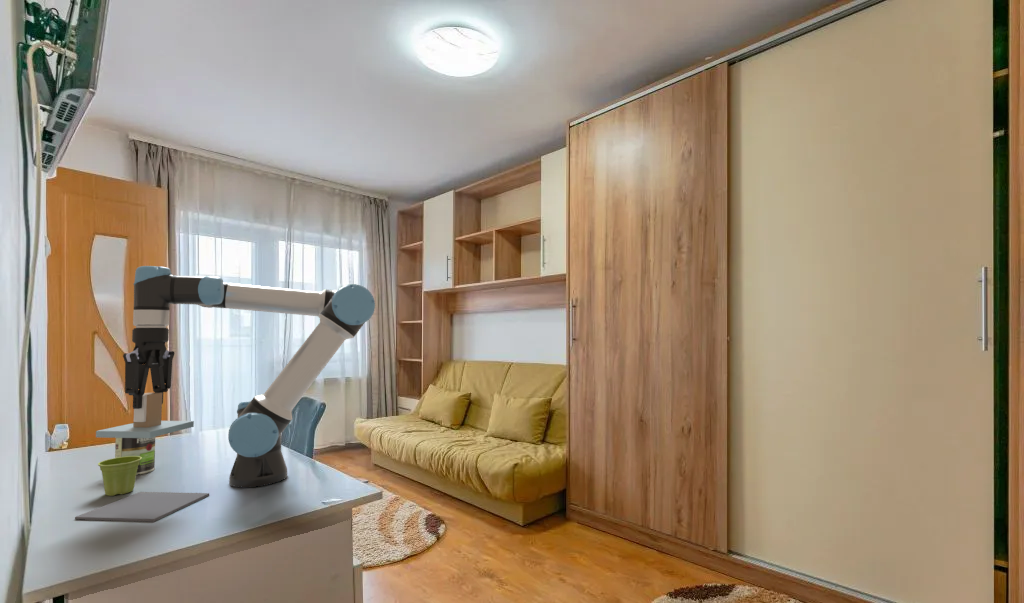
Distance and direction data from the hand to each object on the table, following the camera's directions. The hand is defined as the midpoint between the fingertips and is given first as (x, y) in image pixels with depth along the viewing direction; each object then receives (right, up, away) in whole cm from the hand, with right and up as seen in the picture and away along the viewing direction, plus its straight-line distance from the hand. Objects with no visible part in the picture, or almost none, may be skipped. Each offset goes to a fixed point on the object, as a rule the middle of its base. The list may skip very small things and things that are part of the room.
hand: (147, 419), depth 125 cm
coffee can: (-27, -24, +31) cm, 47 cm away
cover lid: (0, -3, 0) cm, 3 cm away
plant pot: (-15, -23, +10) cm, 29 cm away
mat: (+1, -21, -1) cm, 22 cm away
